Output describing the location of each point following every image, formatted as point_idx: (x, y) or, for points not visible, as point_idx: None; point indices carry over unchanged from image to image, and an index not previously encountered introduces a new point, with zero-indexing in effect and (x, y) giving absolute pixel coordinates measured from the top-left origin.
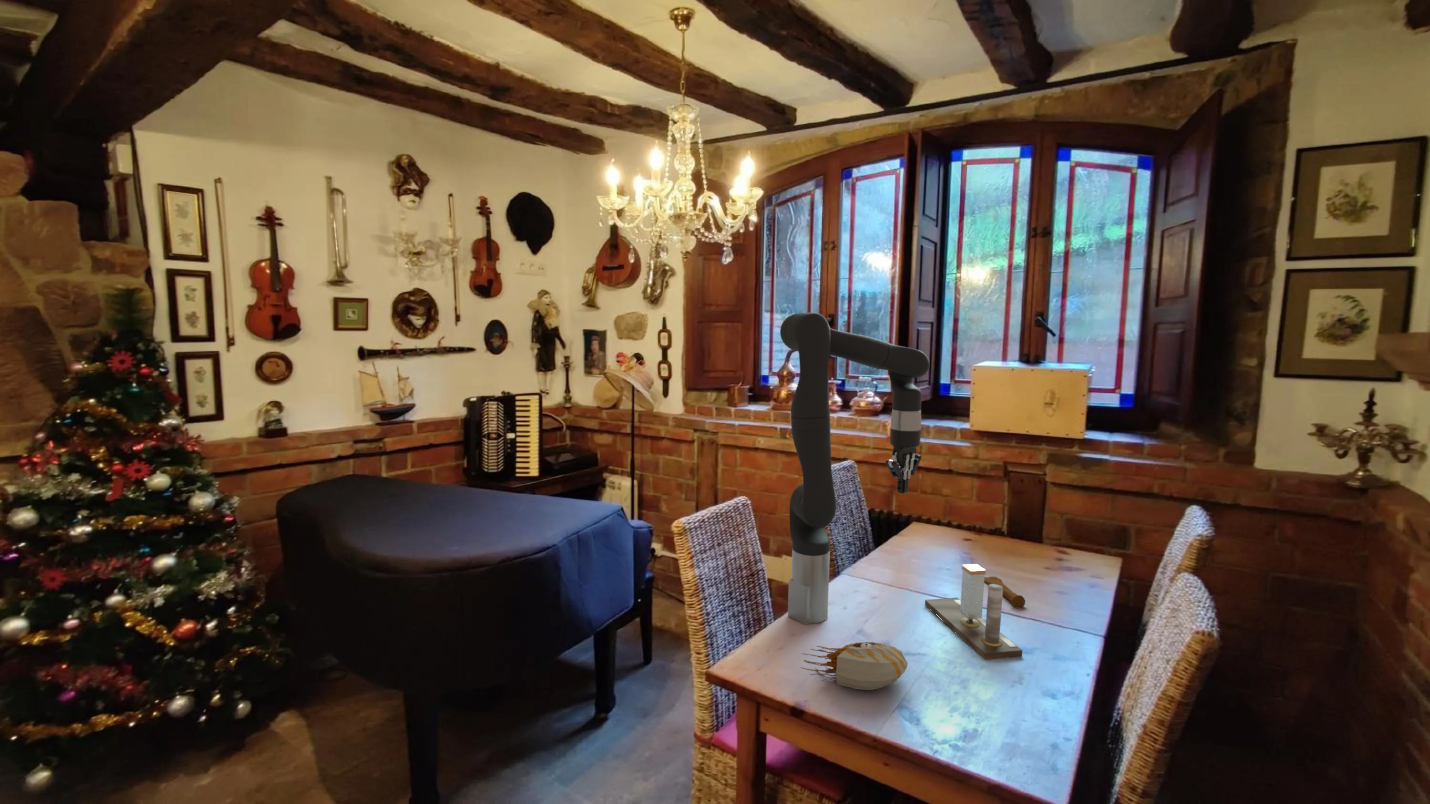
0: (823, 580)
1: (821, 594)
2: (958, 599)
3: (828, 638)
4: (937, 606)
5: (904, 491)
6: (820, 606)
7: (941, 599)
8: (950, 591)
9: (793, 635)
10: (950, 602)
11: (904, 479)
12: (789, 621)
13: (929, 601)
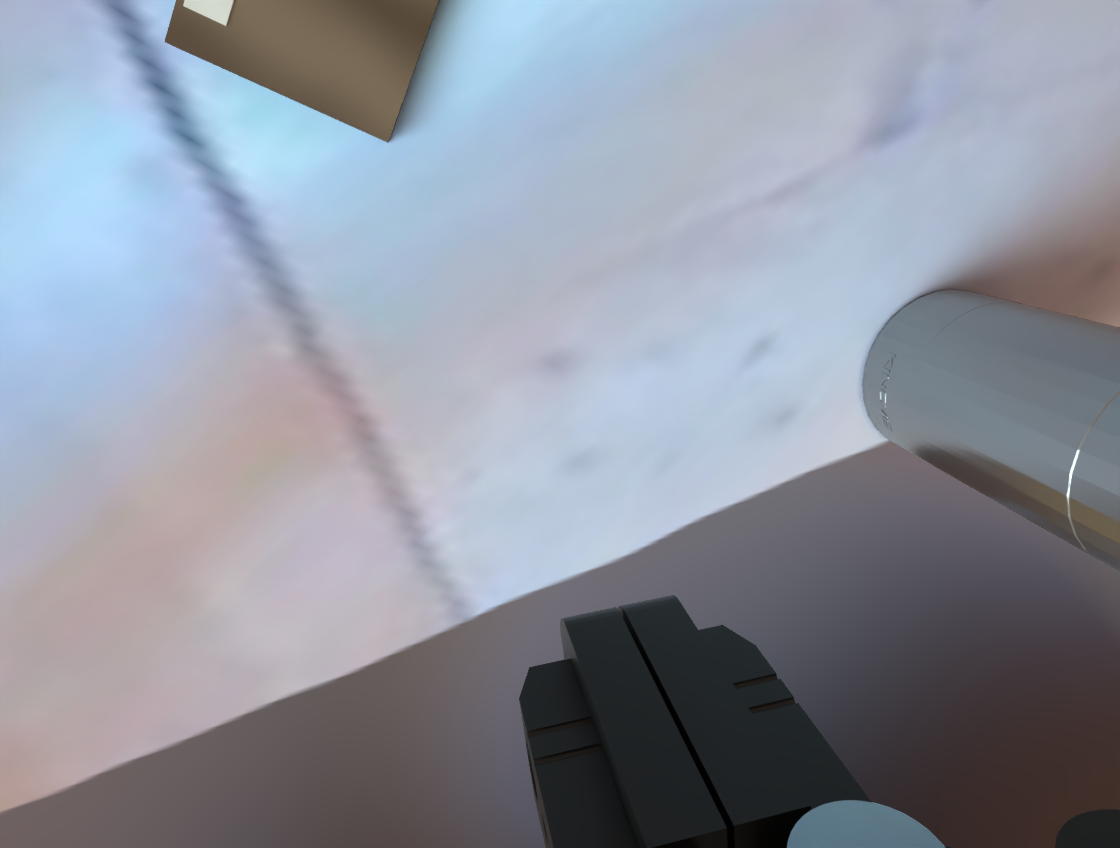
0: (1115, 331)
1: (1061, 314)
2: (181, 14)
3: (1035, 160)
4: (394, 30)
5: (681, 611)
6: (1014, 303)
7: (289, 84)
8: (73, 188)
9: (1106, 263)
10: (271, 17)
11: (872, 808)
12: None
13: (383, 109)
